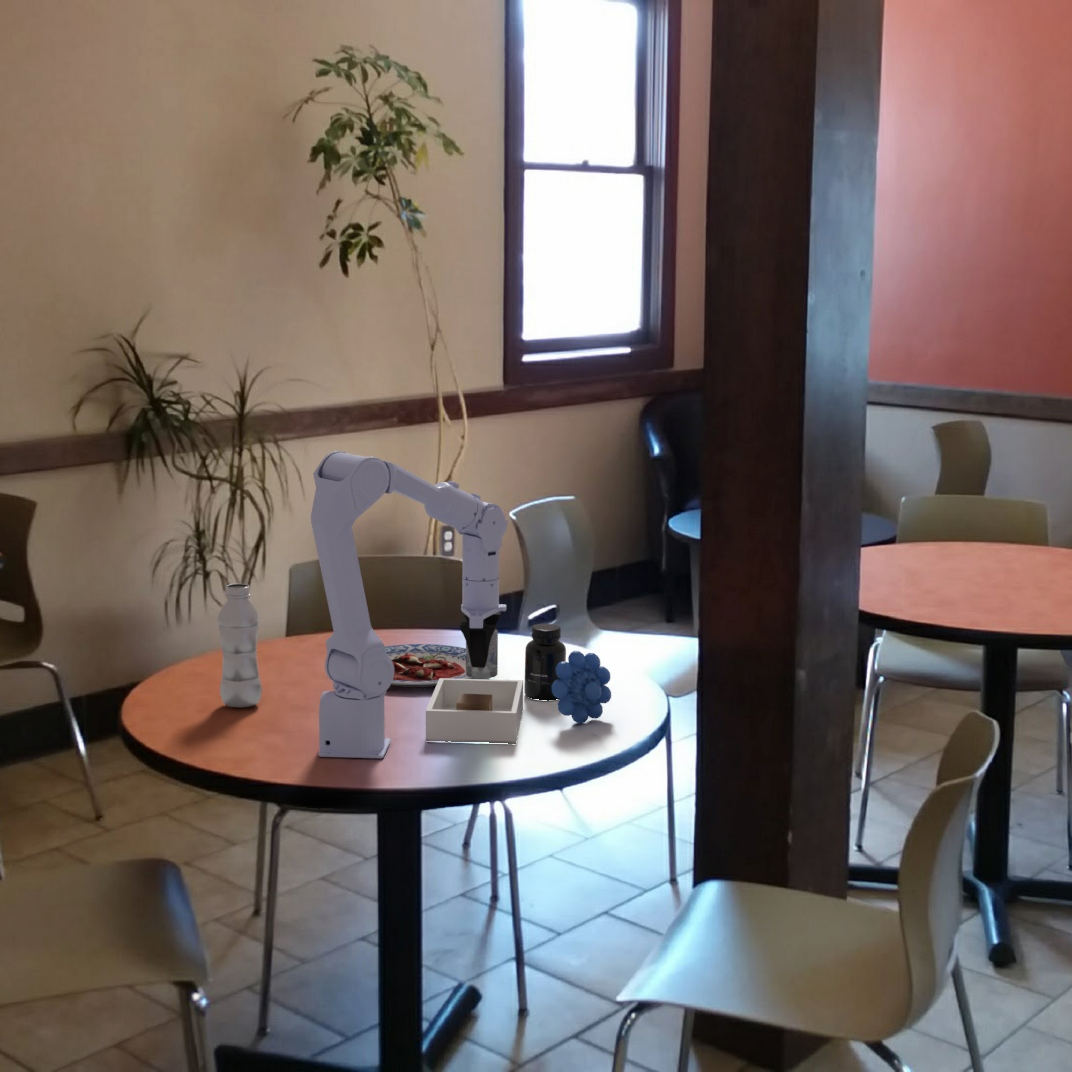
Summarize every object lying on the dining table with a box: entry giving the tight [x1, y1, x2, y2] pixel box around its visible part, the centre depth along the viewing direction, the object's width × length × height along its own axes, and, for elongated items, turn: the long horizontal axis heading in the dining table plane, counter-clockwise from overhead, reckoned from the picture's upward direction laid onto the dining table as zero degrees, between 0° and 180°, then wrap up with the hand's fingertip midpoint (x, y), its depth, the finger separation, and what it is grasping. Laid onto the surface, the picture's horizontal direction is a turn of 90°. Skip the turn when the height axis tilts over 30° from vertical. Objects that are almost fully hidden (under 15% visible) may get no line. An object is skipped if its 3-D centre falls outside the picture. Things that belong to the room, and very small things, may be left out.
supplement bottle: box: [523, 623, 567, 702], centre depth 236 cm, size 7×7×12 cm
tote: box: [425, 678, 524, 745], centre depth 220 cm, size 14×18×5 cm
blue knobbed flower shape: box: [552, 650, 612, 724], centre depth 221 cm, size 12×7×12 cm, turn 127°
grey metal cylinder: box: [465, 628, 499, 679], centre depth 222 cm, size 5×5×7 cm
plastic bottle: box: [217, 583, 263, 708], centre depth 228 cm, size 6×7×20 cm
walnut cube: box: [456, 694, 492, 711], centre depth 216 cm, size 5×5×5 cm
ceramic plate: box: [384, 643, 472, 688], centre depth 250 cm, size 26×26×3 cm
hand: (480, 662), depth 222 cm, fingers closed on grey metal cylinder, 5 cm apart
